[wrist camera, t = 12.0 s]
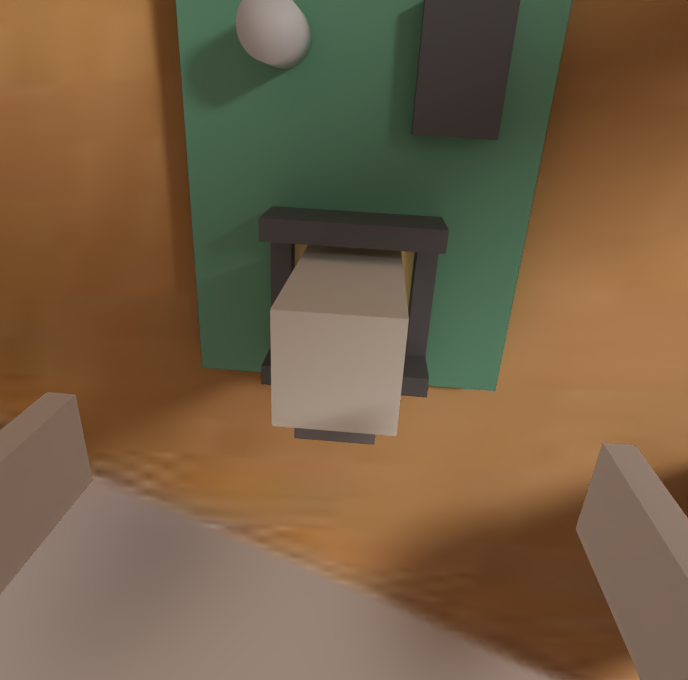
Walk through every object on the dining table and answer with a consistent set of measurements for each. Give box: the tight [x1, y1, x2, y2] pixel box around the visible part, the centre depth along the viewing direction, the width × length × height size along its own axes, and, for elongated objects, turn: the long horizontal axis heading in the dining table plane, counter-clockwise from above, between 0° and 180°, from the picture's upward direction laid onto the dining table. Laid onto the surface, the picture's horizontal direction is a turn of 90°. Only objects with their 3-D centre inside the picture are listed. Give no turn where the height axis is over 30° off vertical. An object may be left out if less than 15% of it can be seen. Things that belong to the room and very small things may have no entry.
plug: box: [270, 245, 409, 445], centre depth 22 cm, size 5×4×9 cm
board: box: [176, 0, 572, 397], centre depth 23 cm, size 20×16×4 cm
